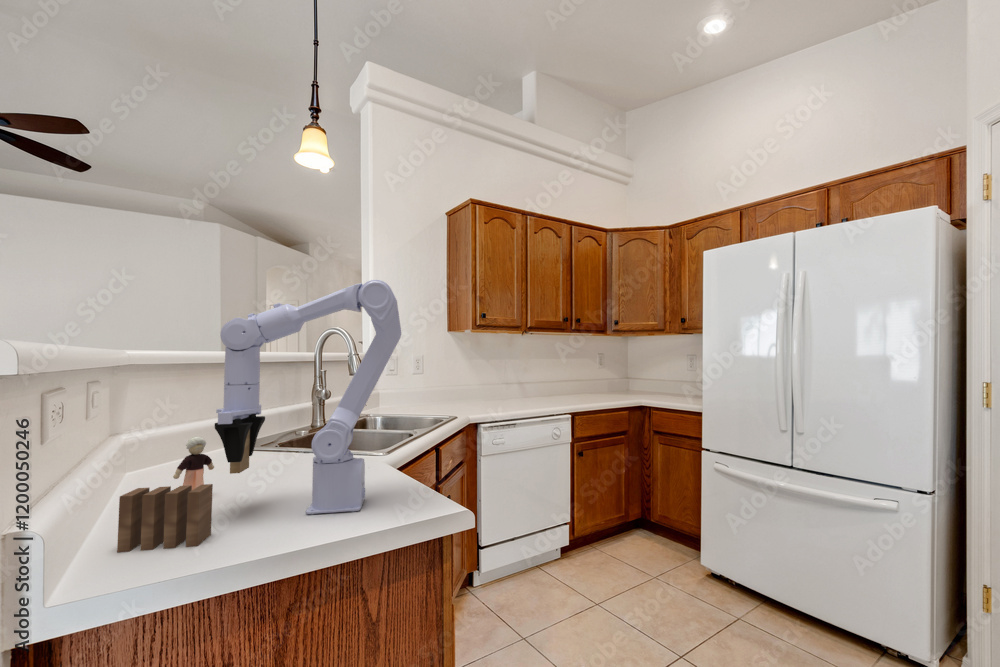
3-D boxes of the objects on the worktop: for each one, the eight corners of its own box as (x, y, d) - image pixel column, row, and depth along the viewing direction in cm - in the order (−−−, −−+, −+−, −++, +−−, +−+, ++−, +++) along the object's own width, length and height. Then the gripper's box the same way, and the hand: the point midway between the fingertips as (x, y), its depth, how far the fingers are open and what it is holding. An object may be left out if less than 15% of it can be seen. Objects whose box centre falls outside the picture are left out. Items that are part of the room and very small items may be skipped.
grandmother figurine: (185, 507, 85) (188, 440, 85) (169, 506, 85) (171, 439, 86) (218, 495, 92) (220, 433, 93) (203, 494, 93) (205, 433, 94)
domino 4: (210, 534, 71) (212, 484, 71) (197, 546, 67) (199, 491, 67) (199, 535, 71) (201, 484, 71) (185, 547, 66) (187, 492, 67)
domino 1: (147, 539, 69) (149, 487, 70) (129, 551, 65) (131, 495, 65) (135, 540, 69) (138, 488, 69) (117, 552, 65) (119, 496, 65)
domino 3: (190, 536, 70) (191, 485, 71) (175, 547, 66) (177, 493, 67) (178, 537, 70) (180, 485, 71) (163, 548, 66) (165, 493, 66)
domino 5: (249, 467, 83) (250, 424, 84) (239, 473, 79) (240, 427, 80) (239, 467, 83) (240, 424, 84) (229, 473, 79) (230, 428, 79)
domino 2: (168, 538, 70) (170, 486, 70) (152, 549, 65) (154, 494, 66) (157, 538, 70) (159, 486, 70) (140, 550, 65) (142, 495, 66)
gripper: (235, 383, 89) (233, 451, 88) (198, 387, 74) (196, 469, 73) (272, 382, 90) (271, 450, 89) (244, 386, 75) (242, 467, 75)
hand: (240, 458), depth 81 cm, fingers closed on domino 5, 4 cm apart
